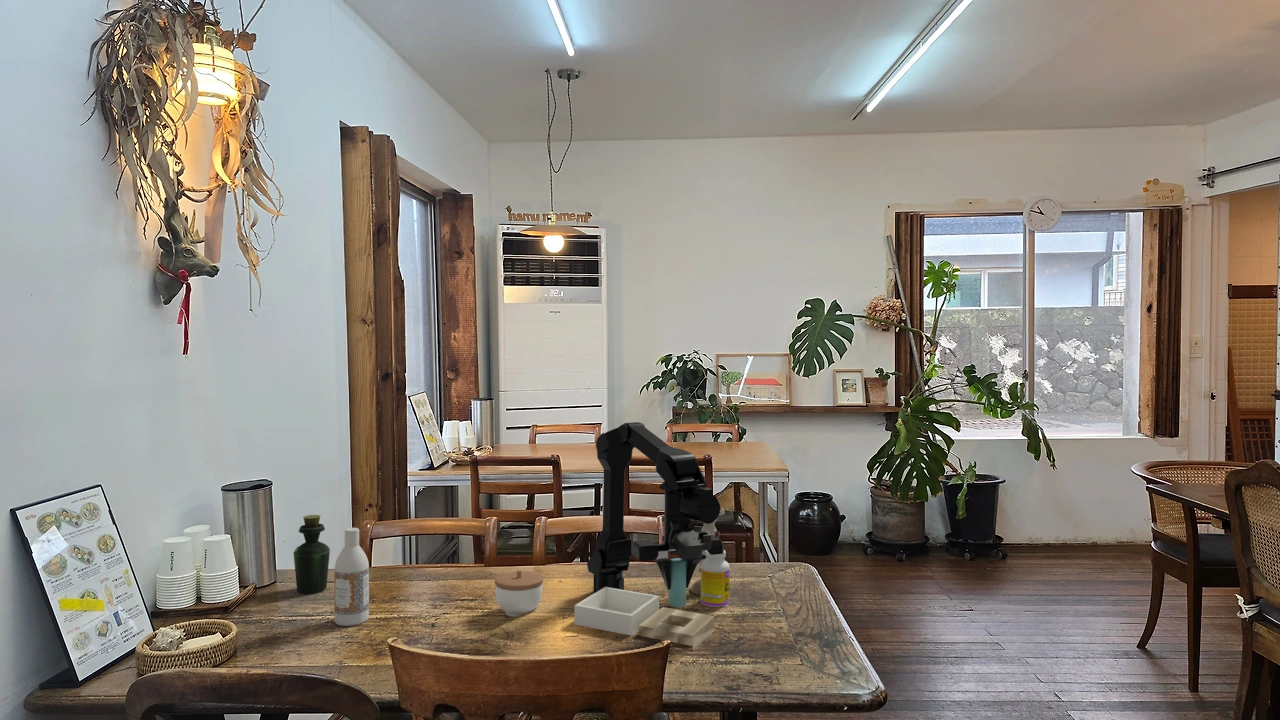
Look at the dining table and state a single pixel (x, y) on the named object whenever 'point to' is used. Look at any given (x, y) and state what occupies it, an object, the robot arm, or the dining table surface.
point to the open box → (616, 610)
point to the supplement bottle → (715, 580)
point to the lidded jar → (518, 592)
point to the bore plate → (689, 634)
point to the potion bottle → (311, 558)
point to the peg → (677, 582)
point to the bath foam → (351, 582)
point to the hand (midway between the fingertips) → (677, 588)
